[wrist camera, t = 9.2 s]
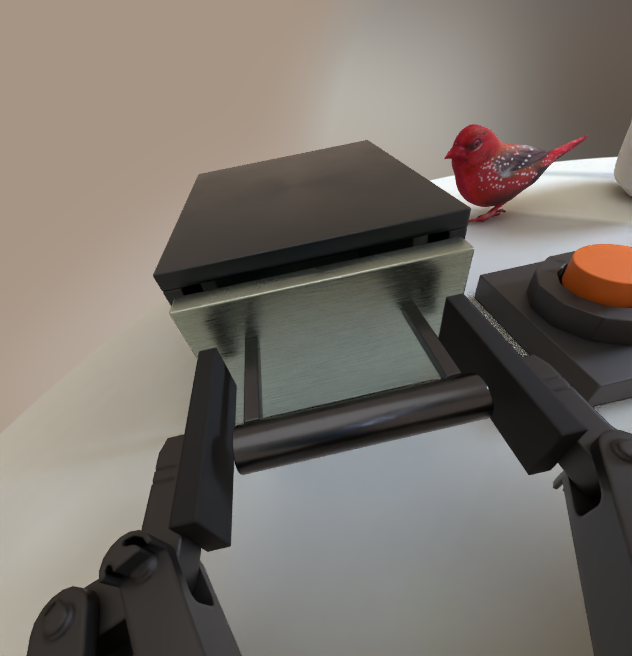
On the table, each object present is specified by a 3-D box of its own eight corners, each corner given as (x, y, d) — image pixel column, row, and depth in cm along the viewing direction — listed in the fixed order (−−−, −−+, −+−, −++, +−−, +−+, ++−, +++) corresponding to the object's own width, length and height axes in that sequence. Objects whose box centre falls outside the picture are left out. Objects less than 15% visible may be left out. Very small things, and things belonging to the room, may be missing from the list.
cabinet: (439, 364, 21) (472, 207, 13) (233, 411, 20) (151, 275, 13) (370, 255, 32) (367, 139, 25) (239, 283, 32) (198, 174, 25)
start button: (674, 299, 17) (696, 274, 16) (601, 316, 17) (617, 291, 16) (606, 262, 20) (620, 238, 19) (544, 275, 20) (555, 252, 19)
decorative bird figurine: (426, 231, 34) (437, 128, 28) (553, 192, 37) (592, 89, 30) (442, 241, 32) (459, 133, 26) (575, 199, 35) (622, 90, 28)
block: (731, 374, 17) (796, 323, 15) (581, 409, 17) (619, 363, 14) (576, 274, 25) (599, 229, 23) (473, 296, 25) (485, 254, 22)
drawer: (505, 475, 14) (597, 347, 8) (233, 540, 14) (122, 455, 8) (373, 261, 29) (371, 162, 23) (241, 290, 29) (206, 196, 23)
